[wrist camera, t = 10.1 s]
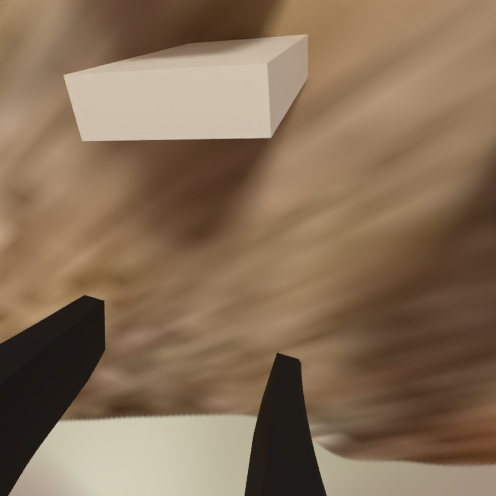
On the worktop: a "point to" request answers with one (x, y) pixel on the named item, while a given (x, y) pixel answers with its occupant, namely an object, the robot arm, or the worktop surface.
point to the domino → (192, 91)
